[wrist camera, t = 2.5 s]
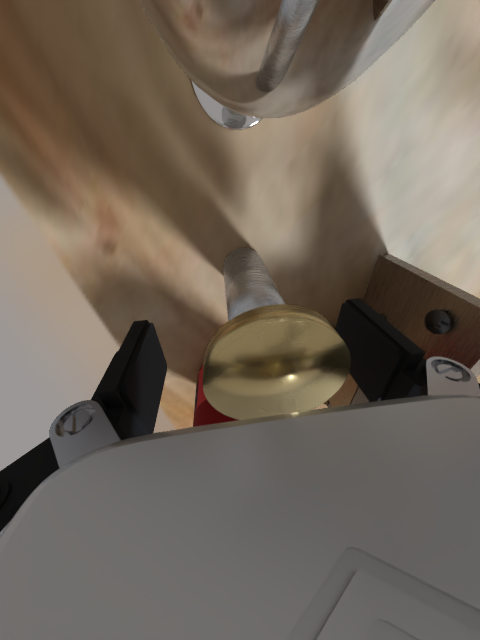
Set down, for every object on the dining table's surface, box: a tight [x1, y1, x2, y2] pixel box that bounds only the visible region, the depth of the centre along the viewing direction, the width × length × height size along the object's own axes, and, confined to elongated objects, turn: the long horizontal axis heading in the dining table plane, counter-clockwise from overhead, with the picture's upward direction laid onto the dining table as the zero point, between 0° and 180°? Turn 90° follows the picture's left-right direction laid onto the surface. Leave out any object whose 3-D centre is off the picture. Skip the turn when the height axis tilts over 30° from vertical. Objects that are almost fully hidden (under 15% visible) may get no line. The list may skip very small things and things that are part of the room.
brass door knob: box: [202, 248, 351, 420], centre depth 12 cm, size 5×5×10 cm
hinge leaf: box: [328, 254, 480, 407], centre depth 17 cm, size 13×6×9 cm, turn 2°
